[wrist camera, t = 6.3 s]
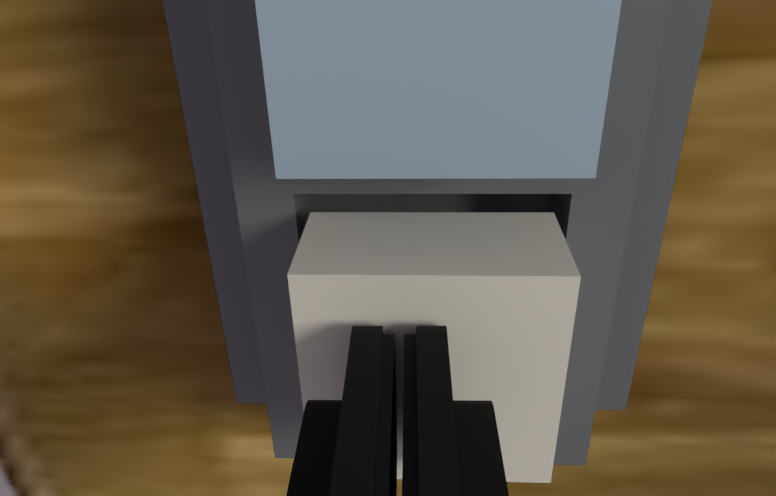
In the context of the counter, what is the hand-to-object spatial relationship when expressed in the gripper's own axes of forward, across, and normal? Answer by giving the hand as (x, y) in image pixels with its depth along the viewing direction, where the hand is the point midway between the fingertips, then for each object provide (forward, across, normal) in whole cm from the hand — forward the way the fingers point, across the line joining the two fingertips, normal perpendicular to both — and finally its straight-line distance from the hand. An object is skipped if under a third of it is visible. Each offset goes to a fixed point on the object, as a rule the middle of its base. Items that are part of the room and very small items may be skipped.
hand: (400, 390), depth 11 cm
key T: (+3, -1, -6) cm, 7 cm away
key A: (+2, -1, 0) cm, 3 cm away
